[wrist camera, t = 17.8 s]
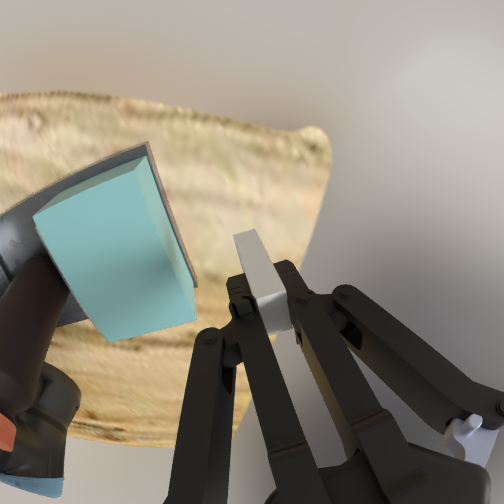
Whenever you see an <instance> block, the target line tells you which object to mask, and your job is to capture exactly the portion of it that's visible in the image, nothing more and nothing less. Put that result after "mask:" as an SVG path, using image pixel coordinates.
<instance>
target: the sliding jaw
mask: <svg viewBox="0 0 504 504" xmlns="http://www.w3.org/2000/svg"><path fill="white" fill-rule="evenodd" d="M32 217H33V219H34V222H35V224H36V227H35V228H36V230H37V232H38V234H39V236H40V238H41V240H42V242H43V244H44V246H45V248H46V250H47V252H48V254H49V256H50V257H51V259H52V261H53V263H54V264H55V266H56V268H57V270H58V271H59V273H60V275H61V276H62V278H63V280H64V281H65V283H66V285H67V286H68V288H69V289H70V291H71V293H72V294H73V296H74V297H75V299H76V300H77V302H78V303H79V305H80V306H81V308H82V309H83V311H84V312H85V314H86V315H87V316H88V318H89V319H90V321H91V322H92V323H93V325H94V326H95V327H96V329H97V330H98V332H99V333H102V334H103V335H104V337H105V338H106V339H107V341H108V342H109V343H110V342H114V341H118V340H123V339H127V338H131V337H135V336H139V335H143V334H147V333H150V332H154V331H158V330H162V329H166V328H169V327H173V326H177V325H180V324H184V323H188V322H191V321H195V320H197V317H196V307H195V297H194V285H193V280H192V278H191V275H190V273H189V270H188V268H187V266H186V263H185V261H184V258H183V256H182V253H181V251H180V248H179V246H178V243H177V241H176V238H175V235H174V233H173V230H172V228H171V225H170V222H169V220H168V217H167V214H166V211H165V209H164V206H163V203H162V200H161V198H160V195H159V192H158V189H157V186H156V183H155V181H154V178H153V175H152V172H151V169H150V166H149V163H148V160H147V157H146V156H143V157H140V158H138V159H135V160H132V161H130V162H127V163H125V164H122V165H120V166H117V167H115V168H112V169H110V170H107V171H105V172H103V173H100V174H98V175H96V176H94V177H91V178H89V179H87V180H85V181H83V182H80V183H78V184H76V185H74V186H72V187H70V188H68V189H66V190H64V191H62V192H60V193H59V194H57V195H56V196H55V197H54V198H53V199H52V200H50V201H49V202H48V203H47V204H46V205H45V206H43V207H42V208H41V209H40V210H39V211H38V212H37V213H36V214H35V215H34V216H32Z"/></svg>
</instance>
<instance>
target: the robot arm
mask: <svg viewBox="0 0 504 504" xmlns="http://www.w3.org/2000/svg"><path fill="white" fill-rule="evenodd" d="M233 237H234V241H235V244H236V248H237V251H238V255H239V258H240V262H241V265H242V269H243V272H244V273H243V274H239V275H236V276H232V277H229V278H228V280H227V283H226V286H227V290H228V295H229V299H230V303H229V310H230V313H231V315H232V319H231V321H230V322H229V323H228V324H227V325H226V326H225V327H223V328H221V329H220V330H219V329H217V328H214V327H210V328H206V329H204V330H202V331H200V332H199V333H198V335H197V337H196V339H195V344H194V349H193V353H192V358H191V363H190V368H189V373H188V378H187V384H186V389H185V394H184V399H183V405H182V410H181V416H180V422H179V427H178V433H177V439H176V445H175V451H174V458H173V464H172V471H171V478H170V484H169V491H168V496H167V498H166V500H165V501H164V503H163V504H227V498H228V485H229V469H230V454H231V439H232V425H233V410H234V396H235V382H236V368H237V367H236V365H238V364H240V363H241V362H244V366H245V370H246V374H247V378H248V382H249V386H250V389H251V393H252V397H253V401H254V404H255V408H256V412H257V416H258V419H259V422H260V426H261V430H262V434H263V437H264V440H265V444H266V448H267V452H268V460H269V463H270V467H271V470H272V474H273V477H274V481H275V484H276V487H277V488H276V489H275V490H274V491H273V492H272V493H271V494H270V496H269V497H268V498H267V500H266V502H265V504H490V491H491V479H490V476H489V474H488V472H487V470H486V469H484V468H485V465H486V463H487V461H488V458H489V456H490V453H491V450H492V448H493V445H494V442H495V440H496V437H497V434H498V431H499V429H500V428H501V427H502V426H503V425H504V392H501V391H498V390H495V389H493V388H490V387H487V386H484V385H481V384H479V383H476V382H474V381H472V380H471V379H470V378H468V377H467V376H466V375H465V374H464V373H463V372H461V371H460V370H459V369H458V368H457V367H455V366H454V365H453V364H452V363H450V362H449V361H448V360H447V359H446V358H444V357H443V356H442V355H441V354H440V353H438V352H437V351H436V350H435V349H434V348H432V347H431V346H430V345H428V344H427V343H426V342H425V341H424V340H422V339H421V338H420V337H419V336H417V335H416V334H415V333H413V332H412V331H411V330H410V329H409V328H407V327H406V326H404V324H402V323H401V322H400V321H399V320H397V319H396V318H395V317H393V316H392V315H391V314H389V313H388V312H387V311H386V310H384V309H383V308H382V307H381V306H379V305H378V304H377V303H375V302H374V301H373V300H371V299H370V298H369V297H367V296H366V295H365V294H364V293H362V292H361V291H360V290H358V289H357V288H356V287H354V286H352V285H347V284H345V285H340V286H337V287H336V288H335V289H334V290H333V292H332V294H321V295H320V294H316V293H314V292H313V291H312V290H310V289H308V287H307V285H306V284H305V282H304V280H303V279H302V277H301V276H300V274H299V272H298V271H297V270H296V267H295V266H294V264H293V263H292V262H290V261H288V260H283V261H280V262H277V263H274V264H273V263H272V261H271V259H270V257H269V255H268V253H267V251H266V249H265V247H264V245H263V243H262V241H261V240H260V238H259V236H258V234H257V232H256V230H255V229H253V230H249V231H246V232H242V233H239V234H236V235H233ZM292 325H293V327H294V329H295V335H296V342H297V344H299V345H300V347H301V349H302V351H303V354H304V356H305V358H306V360H307V363H308V365H309V367H310V369H311V372H312V374H313V376H314V379H315V381H316V383H317V385H318V388H319V390H320V392H321V395H322V397H323V399H324V401H325V404H326V406H327V408H328V410H329V413H330V415H331V417H332V419H333V422H334V424H335V426H336V429H337V431H338V433H339V436H340V438H341V440H342V443H343V446H344V451H345V454H346V457H347V459H348V460H347V461H346V462H344V463H343V464H341V465H339V466H334V467H326V468H317V465H316V463H315V460H314V458H313V455H312V452H311V450H310V447H309V445H308V443H307V441H306V438H305V436H304V433H303V431H302V428H301V425H300V422H299V420H298V417H297V414H296V412H295V409H294V406H293V403H292V401H291V398H290V395H289V393H288V390H287V387H286V384H285V381H284V379H283V376H282V373H281V370H280V368H279V365H278V362H277V359H276V356H275V354H274V351H273V348H272V345H271V342H270V340H269V337H268V336H270V335H273V334H276V333H279V332H283V331H286V330H289V329H292ZM348 348H350V349H351V350H352V351H353V352H354V353H355V354H356V355H357V356H358V357H359V358H360V359H361V360H362V361H363V362H364V363H365V364H366V365H367V366H368V367H369V368H370V369H371V370H372V371H373V372H374V373H375V374H376V375H377V376H378V377H379V378H380V379H381V380H382V381H383V382H384V383H386V385H387V386H388V387H389V388H390V389H392V390H393V391H394V392H395V393H396V394H397V395H398V396H399V397H400V398H401V399H402V400H403V401H404V402H405V403H406V404H407V405H408V406H409V407H410V408H411V409H412V410H413V411H414V412H415V413H416V414H417V415H418V416H419V417H420V418H421V419H422V420H423V421H424V422H426V423H427V424H428V425H429V426H430V427H431V428H433V429H434V430H436V431H437V432H439V433H441V434H443V435H444V446H445V447H446V448H447V449H449V450H450V451H452V452H453V454H454V455H455V458H453V457H450V456H447V455H444V454H441V453H438V452H435V451H432V450H429V449H426V448H423V447H421V446H418V445H415V444H413V443H409V442H407V441H406V439H405V438H404V436H403V434H402V432H401V430H400V428H399V426H398V425H397V423H396V421H395V419H394V417H393V416H392V414H391V413H390V412H389V411H388V410H387V409H383V408H382V407H381V405H380V403H379V402H378V400H377V398H376V396H375V395H374V393H373V391H372V389H371V387H370V386H369V384H368V382H367V380H366V378H365V377H364V375H363V373H362V372H361V370H360V368H359V366H358V365H357V363H356V361H355V360H354V358H353V356H352V354H351V352H350V351H349V349H348ZM80 402H81V392H80V389H79V388H78V386H77V385H76V384H75V383H74V381H73V380H71V379H70V378H69V377H68V376H67V375H66V374H64V373H63V372H61V371H60V370H58V369H57V368H55V367H53V366H51V365H49V364H47V363H45V362H44V363H43V366H42V370H41V373H40V377H39V380H38V384H37V388H36V392H35V396H34V400H33V404H32V406H31V407H29V408H28V409H27V410H24V411H22V412H19V413H17V414H16V415H15V421H16V423H17V426H15V427H16V434H15V440H14V446H13V451H11V452H9V451H5V450H2V449H0V481H1V482H3V483H5V484H8V485H10V486H13V487H16V488H19V489H22V490H25V491H28V492H32V493H35V494H38V495H42V496H46V497H51V498H58V497H60V495H61V494H62V487H63V480H64V477H63V475H64V456H65V444H66V435H67V429H68V426H69V425H70V423H71V421H72V419H73V417H74V415H75V413H76V412H77V411H78V409H79V407H80Z"/></svg>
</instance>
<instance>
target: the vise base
mask: <svg viewBox="0 0 504 504" xmlns="http://www.w3.org/2000/svg"><path fill="white" fill-rule="evenodd" d="M143 156H146V157H147V160H148V163H149V166H150V169H151V172H152V175H153V178H154V181H155V183H156V186H157V189H158V192H159V195H160V198H161V200H162V203H163V206H164V209H165V211H166V214H167V217H168V220H169V222H170V225H171V228H172V230H173V233H174V235H175V238H176V241H177V243H178V246H179V248H180V251H181V253H182V256H183V258H184V261H185V263H186V266H187V268H188V270H189V273H190V275H191V278H192V280H193V285H194V288H196V287H198V284H197V276H196V274H195V271H194V269H193V266H192V264H191V261H190V259H189V256H188V254H187V251H186V248H185V246H184V243H183V241H182V238H181V235H180V233H179V230H178V227H177V225H176V222H175V219H174V216H173V214H172V211H171V208H170V205H169V202H168V200H167V197H166V194H165V191H164V188H163V185H162V182H161V179H160V176H159V173H158V170H157V167H156V164H155V161H154V158H153V155H152V152H151V148H150V145H149V142H145V143H142V144H139V145H137V146H134V147H132V148H129V149H126V150H124V151H121V152H119V153H117V154H114V155H112V156H109V157H107V158H105V159H102V160H100V161H98V162H96V163H93V164H91V165H89V166H87V167H85V168H83V169H80V170H78V171H76V172H74V173H72V174H70V175H68V176H66V177H64V178H62V179H60V180H58V181H56V182H55V183H53V184H51V185H49V186H47V187H45V188H43V189H42V190H40V191H38V192H36V193H35V194H33V195H31V196H29V197H28V198H26V199H24V200H23V201H21V202H19V203H18V204H16V205H15V206H13V207H11V208H10V209H8V210H7V211H5V212H4V213H2V214H1V215H0V299H1V297H2V296H3V294H4V292H5V291H6V289H7V288H8V286H9V285H10V283H11V282H12V280H13V279H14V277H15V276H16V274H17V273H18V271H19V270H20V268H21V267H22V266H23V264H24V263H25V261H27V260H29V259H30V258H32V257H43V258H47V259H49V260H50V261H52V259H51V257H50V256H49V254H48V252H47V250H46V248H45V246H44V244H43V242H42V240H41V238H40V236H39V234H38V232H37V230H36V228H35V227H36V224H35V222H34V219H33V217H32V216H34V215H35V214H36V213H37V212H38V211H39V210H40V209H41V208H42V207H43V206H45V205H46V204H47V203H48V202H49V201H50V200H52V199H53V198H54V197H55V196H56V195H57V194H59V193H60V192H62V191H64V190H66V189H68V188H70V187H72V186H74V185H76V184H78V183H80V182H83V181H85V180H87V179H89V178H91V177H94V176H96V175H98V174H100V173H103V172H105V171H107V170H110V169H112V168H115V167H117V166H120V165H122V164H125V163H127V162H130V161H132V160H135V159H138V158H140V157H143ZM52 262H53V261H52ZM86 319H89V318H88V316H87V315H86V314H85V312H84V311H83V309H82V308H81V306H80V305H79V303H78V302H77V300H76V299H75V297H74V296H73V294H72V293H71V291H70V289H69V294H68V298H67V300H66V303H65V305H64V307H63V310H62V312H61V315H60V317H59V320H58V323H57V325H56V327H60V326H64V325H67V324H71V323H75V322H78V321H82V320H86Z"/></svg>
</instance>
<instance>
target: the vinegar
mask: <svg viewBox="0 0 504 504" xmlns="http://www.w3.org/2000/svg"><path fill="white" fill-rule="evenodd" d="M68 294H69V288H68V286H67V285H66V283H65V281H64V280H63V278H62V276H61V275H60V273H59V271H58V270H57V268H56V266H55V264H54V263H53V262H52V261H50V260H49V259H47V258H43V257H32V258H30V259H29V260H27V261H25V263H24V264H23V266H22V267H21V268H20V270H19V271H18V273H17V274H16V276H15V277H14V279H13V280H12V282H11V283H10V285H9V286H8V288H7V289H6V291H5V292H4V294H3V296H2V297H1V299H0V449H2V450H5V451H9V452H11V451H13V446H14V440H15V434H16V427H15V426H17V423H16V421H15V415H16V414H17V413H19V412H22V411H24V410H27V409H28V408H29V407H31V406H32V404H33V400H34V396H35V392H36V388H37V384H38V380H39V377H40V373H41V370H42V366H43V363H44V360H45V357H46V354H47V351H48V348H49V345H50V342H51V339H52V336H53V333H54V330H55V328H56V325H57V323H58V320H59V317H60V315H61V312H62V310H63V307H64V305H65V303H66V300H67V298H68Z"/></svg>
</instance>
